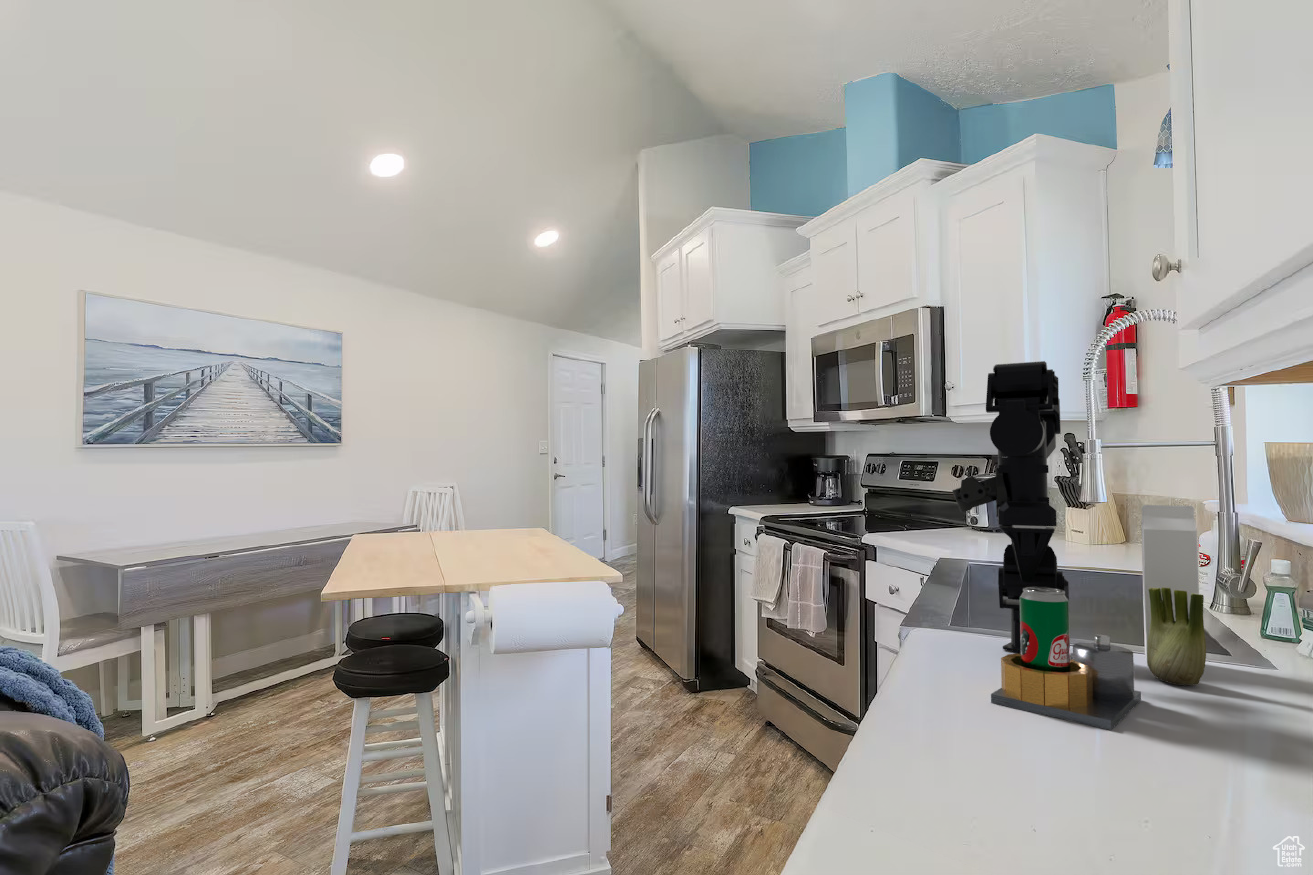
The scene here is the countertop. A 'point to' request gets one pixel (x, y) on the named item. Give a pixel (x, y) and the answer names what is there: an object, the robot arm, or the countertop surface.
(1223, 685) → the countertop surface
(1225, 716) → the countertop surface
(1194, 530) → the milk
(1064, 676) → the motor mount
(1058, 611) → the soda can
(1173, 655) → the fennel bulb
